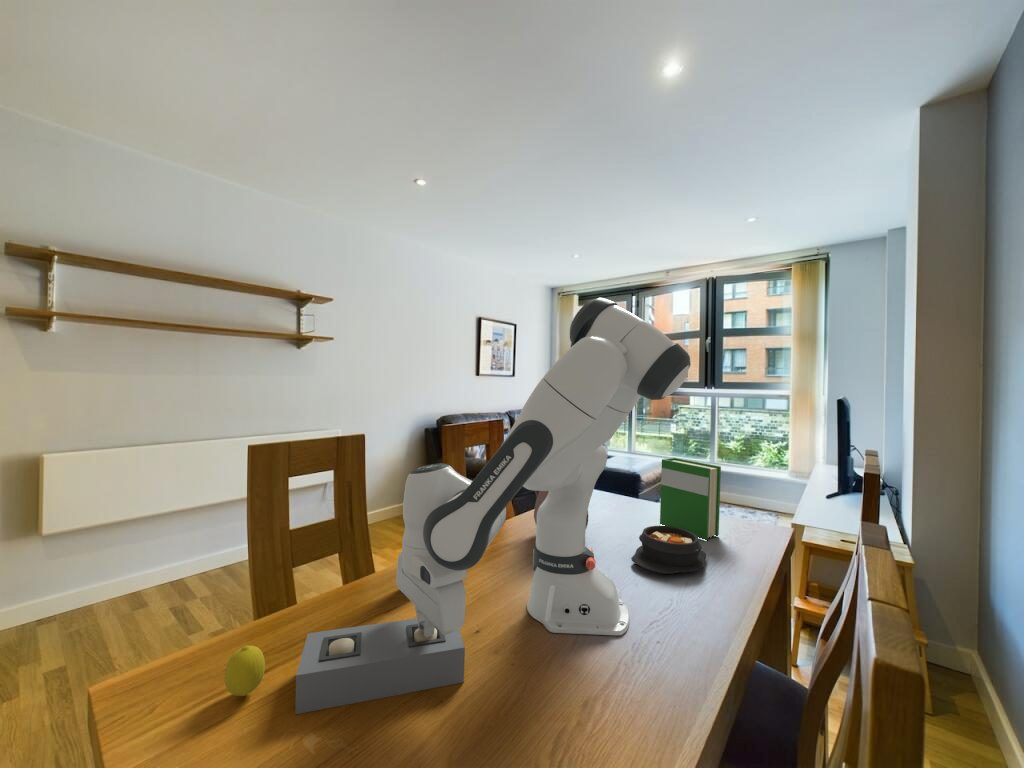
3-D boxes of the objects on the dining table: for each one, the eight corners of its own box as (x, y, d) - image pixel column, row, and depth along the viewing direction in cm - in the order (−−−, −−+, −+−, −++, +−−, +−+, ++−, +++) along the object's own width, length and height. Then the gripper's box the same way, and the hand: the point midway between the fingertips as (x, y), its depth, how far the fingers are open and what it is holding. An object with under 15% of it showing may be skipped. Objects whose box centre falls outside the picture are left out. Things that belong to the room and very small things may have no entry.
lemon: (236, 683, 71) (237, 636, 71) (271, 682, 72) (271, 635, 72) (216, 709, 66) (217, 658, 66) (254, 708, 66) (254, 656, 66)
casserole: (674, 588, 108) (675, 555, 107) (615, 562, 122) (616, 533, 122) (722, 564, 123) (723, 535, 123) (664, 543, 138) (665, 517, 137)
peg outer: (354, 669, 75) (354, 636, 75) (352, 685, 71) (353, 650, 71) (329, 673, 74) (330, 640, 73) (326, 689, 70) (327, 654, 70)
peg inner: (434, 655, 79) (435, 624, 79) (437, 670, 75) (438, 637, 75) (412, 659, 78) (413, 627, 78) (414, 674, 74) (415, 640, 74)
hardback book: (718, 537, 144) (720, 466, 143) (706, 542, 139) (708, 468, 139) (672, 522, 158) (674, 457, 158) (659, 525, 154) (661, 459, 153)
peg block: (453, 643, 83) (454, 611, 83) (463, 682, 73) (464, 646, 73) (307, 666, 76) (307, 632, 76) (295, 714, 65) (296, 673, 65)
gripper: (388, 540, 82) (387, 611, 82) (438, 583, 66) (436, 671, 66) (419, 533, 86) (417, 601, 86) (472, 572, 70) (471, 656, 70)
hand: (426, 632), depth 76 cm, fingers closed, pressing on peg inner
